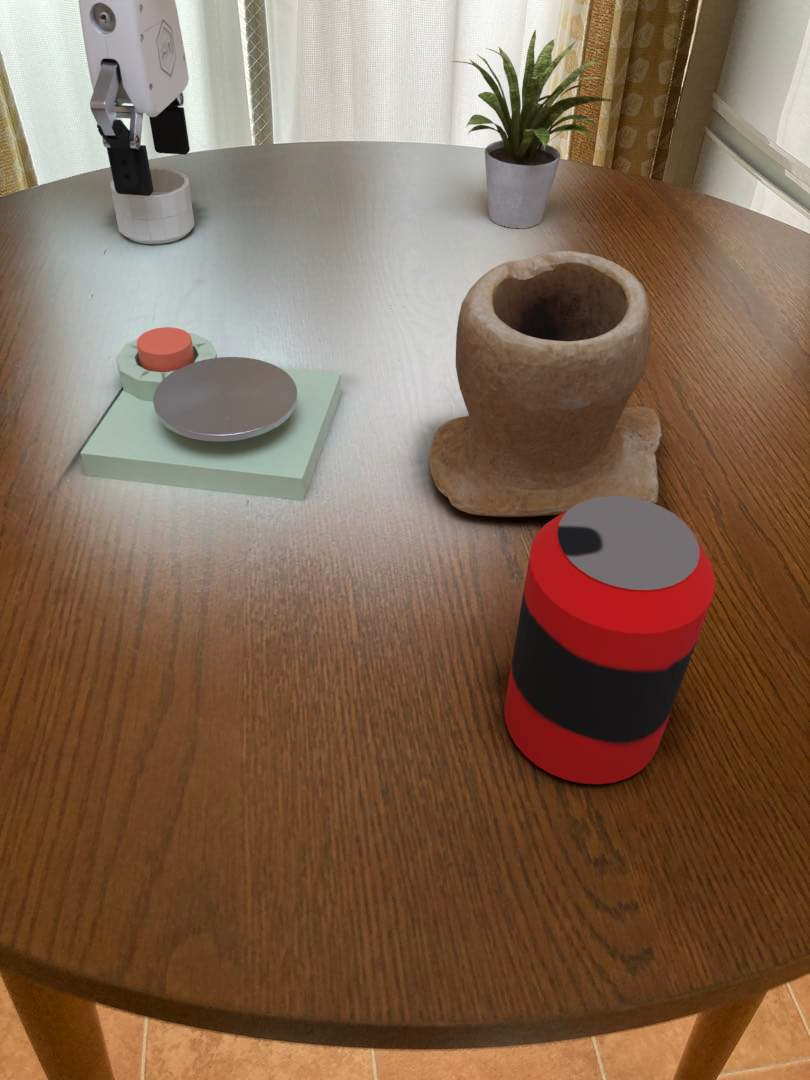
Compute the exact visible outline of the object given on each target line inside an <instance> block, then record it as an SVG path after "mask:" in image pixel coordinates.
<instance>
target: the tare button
mask: <svg viewBox="0 0 810 1080" xmlns="http://www.w3.org/2000/svg"><path fill="white" fill-rule="evenodd" d="M189 333H190V332H188V331H186V330H184V329H181V328H179V327H173V326H164V327H157V328H153V329H150V330H147V331H145V332H143V333H142V334H141V335H140V336H139V337H137V339H138V340H137V348H138V354H139V359H140V364H141V366H142V367H143V368H144V369H146V370H148V371H154V372H170V371H176V370H177V369H179V368H181V367H184V366H186V365H189V364H191V363H193V361H194V353H193V346H192V338H191V336H190V334H189Z"/></svg>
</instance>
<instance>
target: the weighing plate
mask: <svg viewBox="0 0 810 1080" xmlns="http://www.w3.org/2000/svg"><path fill="white" fill-rule="evenodd" d="M281 368H282V367H279V366H277V365H275V364H273V363H270V362H267V361H264V360H262V359H261V360H260V359H257V358H252V357H251V358H250V357H242V356H221V357H217V358H212V359H206V360H201V361H198V362H194V363H191V364H189V365H186V366H184V367H181V368H179V369H177V370H176V371H174V372H172V373H171V374H169V375H168V376H167V377H165V378H164V379H163V380H162V381H161V383H160V384H159V385H158V386H157V388H156V390H155V393H154V397H153V404H154V409H155V413H156V415H157V417H158V419H159V420H160V421H161V422H162V423H163V424H164V425H165V426H166V427H167V428H169V429H170V430H172V431H173V432H176V433H178V434H180V435H183V436H185V437H189V438H193V439H197V440H204V441H235V440H242V439H247V438H251V437H255V436H258V435H261V434H263V433H266V432H268V431H270V430H272V429H274V428H276V427H278V426H279V425H280V424H282V423H283V422H284V421H285V420H287V419H288V418H289V417H290V415H291V414H292V413H293V411H294V409H295V407H296V404H297V388H296V385H295V382H294V381H293V379H292V378H291V377H290V376H289V375H288V374H287V373H286V372H285V371H284V370H282V369H281Z"/></svg>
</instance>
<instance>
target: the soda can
mask: <svg viewBox="0 0 810 1080" xmlns="http://www.w3.org/2000/svg"><path fill="white" fill-rule="evenodd" d="M524 582H525V583H524V585H523V586H524V587H523V588H524V589H523V593H522V599H521V604H520V611H519V617H518V624H517V629H516V635H515V641H514V646H513V651H512V652H513V653H512V659H511V664H510V670H509V676H508V682H507V687H506V688H507V689H506V695H505V700H504V705H503V711H504V722H505V725H506V728H507V731H508V734H509V735H510V737H511V740H512V741H513V743H514V745H515V747H517V748H518V749H519V751H520V752H521V753H522V754H523V756H525V758H527V759H528V760H529V761H530V762H532V763H533V764H534V765H535V766H537V767H538V768H540V769H542V770H543V771H545V772H547V773H548V774H550V775H553V776H555V777H557V778H561V779H562V780H566V781H570V782H573V783H579V784H583V785H584V784H585V785H604V784H612V783H613V784H614V783H617V782H620V781H623V780H626V779H629V778H631V777H632V776H635V775H636V774H637V773H639V772H642V770H643V769H644V768H645V767H647V765H648V764H650V762H651V761H652V760H653V758H654V756H655V755H656V753H657V751H658V749H659V746H660V743H661V741H662V739H663V735H664V734H665V733H664V732H665V730H666V727H667V724H668V721H669V719H670V716H671V713H672V710H673V707H674V705H675V702H676V699H677V697H678V694H679V692H680V688H681V686H682V683H683V680H684V678H685V676H686V672H687V669H688V667H689V664H690V661H691V658H692V655H693V653H694V650H695V647H696V645H697V642H698V639H699V637H700V634H701V631H702V629H703V625H704V623H705V620H706V617H707V614H708V612H709V609H710V606H711V603H712V602H713V598H714V594H715V591H716V574H715V572H714V569H713V565H712V562H711V561H710V559H709V557H708V556H707V554H706V553H705V550H704V549H703V547H702V546H701V545H700V544H699V542H698V539H697V537H696V535H695V533H694V532H693V530H692V529H691V528H690V527H689V526H688V524H687V523H686V522H685V521H684V520H683V519H681V518H680V517H679V516H678V515H676V514H675V513H674V512H672V511H670V510H668V509H667V508H666V507H663V506H661V505H659V504H657V503H655V504H654V503H652V502H648V501H645V500H641V499H638V498H632V497H626V496H602V497H596V498H592V499H587V500H585V501H583V502H580V503H578V504H576V505H575V506H573V507H572V508H570V509H569V510H568V511H566V512H565V513H563V514H559V515H556V517H554V518H553V519H551V520H549V521H548V522H546V523H545V524H544V525H543V526H542V528H541V529H539V531H538V532H536V534H535V537H534V538H533V540H532V543H531V545H530V551H529V557H528V563H527V569H526V573H525V581H524Z"/></svg>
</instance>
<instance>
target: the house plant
mask: <svg viewBox="0 0 810 1080" xmlns="http://www.w3.org/2000/svg"><path fill="white" fill-rule="evenodd" d="M537 29H538V27H537V28H535V30H534V31H533V33H532V35H531V38H530V40H529V45H528V48H527V53H526V59H525V66H524V72H523V79H522V87H521V93H520V85H519V80H518V75H517V72H516V69H515V67H514V65H513V62H512V61H511V58H510V57H509V56H508V54H507V53H505V51H504V50H503V49H502V48H501V47H500V46H498V51H499V52H498V51H497V50H494V49H491V48H487V47H485V49H486V50H489V51H492V52H494V53H496V54H498V55H499V56H500V57H501V59H502V65H503V71H504V74H505V77H506V80H507V85H508V91H509V92H508V94H509V102H510V103H509V104H510V110H511V113H510V111H509V107H508V103H507V100H506V96H505V92H504V89H503V87H502V84H501V82H500V79H499V78H498V76H497V75H496V73H495V72H494V70H493V69H492V67H491V66H490V64H489V63H488V61H487V60H486V58H483V57H482V56H481V55H479V54H478V53H476V56H478V57H479V58H480V59H481V60H482V61H483V62H484V63H485V64H486V66H487V67H488V69H489V71H490V73H491V74H492V76H493V77H494V78H493V77H492V76H491V75H490V74H489V72H488V71H487V70H485V69H484V68H483V67H481V65H479V64H478V63H476V62H474V61H473V60H472V59H470V58H469V59H468V60H469V61H470V62H469V61H461V60H460V61H459V60H456V61H455V60H452V61H450V63H462V64H467V65H472V66H473V67H475V68H476V69H477V70H478V71H479V72H480V74H481V76H482V77H483V80H484V81H485V82H486V84H487V85H488V86H489V88H490V89H491V91H492V92H491V91H483V92H481V93H478V95H477V96H478V98H480V100H482V101H483V102H485V104H487V105H488V106H489V107H490V108H491V109H492V110H493V111H495V113H496V115H497V117H498V118H499V121H500V122H501V124H502V126H503V128H502V126H500V125H499V124H497V123H495V122H493V121H492V120H491V119H490V118H488V117H486V116H484V115H482V114H477V113H476V114H473V115H472V116H471V117H470V118H469V120H468V122H467V124H466V125H465V128H467V127H468V126H470V125H473V127H472V128H471V129H470V130H469V131H468V133H467V134H470V133H471V132H475V131H480V130H493V131H495V132H497V133H498V134H499V136H500V138H501V140H497V141H494V142H492V143H489V144H488V145H487V146H486V147H485V148H484V162H485V163H484V164H485V177H486V192H487V193H486V195H487V207H488V208H487V209H488V218H489V217H490V218H489V220H490V219H491V220H492V221H491V220H490V221H491V222H492V223H494V222H495V223H494V224H496V225H498V226H501V225H502V226H501V227H504V226H505V228H508V227H509V229H517V228H519V229H530V228H533V226H534V227H536V226H538V225H539V223H541V222H542V220H543V217H544V214H545V210H546V207H547V204H548V200H549V197H550V194H551V191H552V187H553V183H554V180H555V177H556V173H557V170H558V167H559V163H560V162H561V161H560V160H561V152H560V151H559V150H558V149H557V148H555V146H552V145H549V143H550V142H551V141H552V140H553V139H555V138H556V137H557V136H558V135H560V134H561V133H562V132H570V131H573V132H583V133H585V134H587V135H590V137H591V138H593V136H592V134H591V132H590V131H589V130H588V128H587V126H585V125H582V124H578V122H581V121H583V122H587V123H590V124H591V125H593V126H594V127H595V128H596V129H597V130H599V128H598V127H597V125H596V123H595V122H594V121H597V122H598V121H599V120H598V119H594V118H591V117H588V116H586V115H582V114H569V115H566V116H564V117H561V116H562V115H563V113H565V112H567V111H568V110H570V109H571V108H574V107H577V106H581V105H587V104H590V103H596V102H608V103H609V102H610V103H611V102H618V100H617V99H612V98H606V97H601V96H593V95H592V96H590V95H581V96H579V95H578V96H569V97H566V98H562V99H560V98H559V97H562V96H563V95H564V94H566V93H567V92H570V91H571V90H574V89H577V88H583V89H590V86H586V85H584V84H576V85H574V86H571V84H573V83H575V82H579V81H583V80H599V79H604V80H605V79H607V77H599V76H587V77H586V76H585V77H581V78H579V77H580V75H581V74H582V73H583V72H584V71H585V70H586V69H588V68H589V67H591V66H593V65H594V64H596V63H598V62H601V61H602V60H605V59H607V58H606V57H605V58H597V59H593V60H591V61H588V62H586V63H584V64H581V65H580V66H579V67H577V68H576V69H575V70H574V71H573V72H571V73H570V74H569V75H568V76H567V77H566V78H565V79H564V80H563V81H562V82H561V83H559V84H558V85H557V87H556V88H555V90H553V91H552V93H551V94H548V95H547V94H546V95H544V96H542V93H543V89H544V87H545V85H546V84H547V82H548V80H549V79H550V77H551V76H552V74H553V72H554V71H555V69H556V68H557V66H558V65H559V64H560V63H561V60H563V58H564V57H565V56H566V55H567V54H568V53H569V52H570V51H571V49H572V48H573V47H574V45H575V44H576V43H577V42H578V40H577V41H575V42H573V43H572V44H570V45H569V46H568V47H566V48H565V49H564V50H562V51H561V53H559V54H558V55H557V56H556V57H555V58H554V59H553V58H552V54H553V50H554V47H555V40H556V38H554V39H552V40H550V41H549V42H548V43H546V44H545V45H544V47H542V49H541V51H540V53H539V55H538V56H537V58H536V60H535V46H536V39H537ZM494 79H495V80H494ZM496 82H497V83H496ZM569 86H571V87H569ZM568 87H569V88H568ZM567 88H568V89H567ZM542 101H543V102H542ZM539 102H542V103H539ZM560 117H561V118H560ZM559 118H560V119H559ZM569 120H575V121H574V122H573V123H568V124H564V125H560V124H562V123H563V122H566V121H569ZM487 124H490V125H494V127H496V129H495V128H494V127H492V126H489V125H487ZM474 125H475V126H474ZM559 125H560V126H559ZM558 132H559V133H558ZM554 133H558V134H556V135H555V136H554V137H552V138H551V135H552V134H554ZM537 224H538V225H537ZM535 225H536V226H535ZM529 227H530V228H529Z"/></svg>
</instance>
